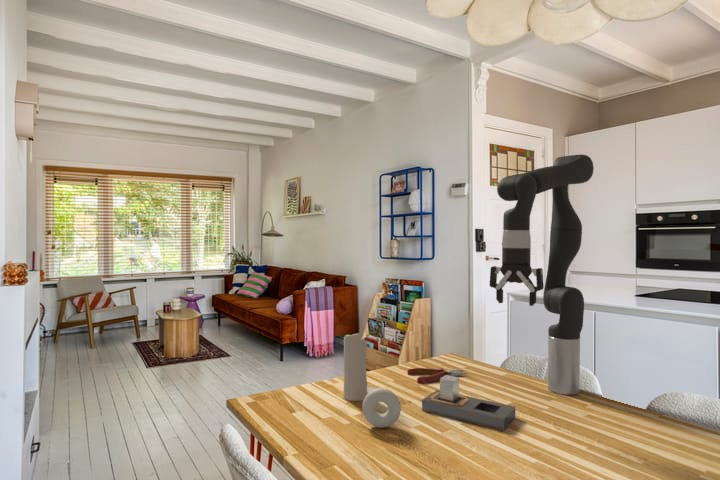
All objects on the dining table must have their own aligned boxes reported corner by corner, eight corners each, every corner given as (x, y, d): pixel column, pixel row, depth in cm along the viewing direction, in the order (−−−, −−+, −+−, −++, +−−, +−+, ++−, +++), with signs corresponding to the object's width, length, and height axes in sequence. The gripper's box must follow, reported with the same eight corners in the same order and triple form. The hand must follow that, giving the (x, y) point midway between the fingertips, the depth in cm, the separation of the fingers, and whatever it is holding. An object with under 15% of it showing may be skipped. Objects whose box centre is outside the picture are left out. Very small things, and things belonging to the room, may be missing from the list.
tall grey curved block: (382, 389, 143) (382, 327, 143) (358, 403, 131) (359, 335, 131) (363, 385, 147) (363, 324, 147) (338, 398, 135) (339, 332, 135)
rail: (437, 399, 134) (437, 389, 134) (515, 417, 121) (515, 406, 121) (422, 410, 126) (422, 399, 126) (504, 430, 113) (504, 418, 113)
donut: (400, 425, 116) (401, 386, 116) (401, 430, 113) (401, 391, 113) (362, 423, 117) (362, 385, 117) (361, 429, 114) (361, 390, 114)
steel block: (445, 405, 130) (446, 374, 130) (458, 409, 127) (459, 377, 127) (439, 410, 126) (440, 378, 126) (453, 413, 124) (453, 381, 124)
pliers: (473, 380, 154) (473, 373, 154) (418, 385, 149) (418, 377, 149) (458, 371, 165) (458, 363, 165) (406, 375, 160) (406, 367, 160)
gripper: (546, 246, 125) (545, 304, 125) (495, 245, 133) (494, 300, 133) (539, 247, 119) (539, 308, 119) (486, 246, 127) (486, 303, 127)
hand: (515, 304), depth 126 cm, fingers open, 8 cm apart
